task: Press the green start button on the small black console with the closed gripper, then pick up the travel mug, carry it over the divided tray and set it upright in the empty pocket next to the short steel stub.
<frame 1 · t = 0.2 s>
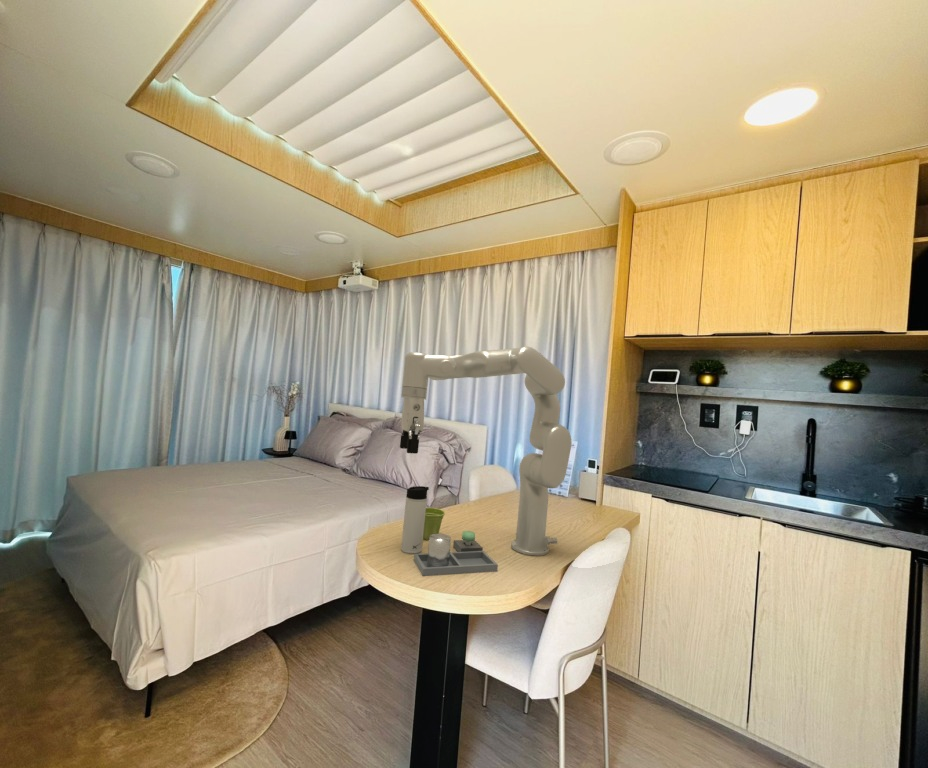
hand: (408, 450, 119), 31 cm above the table, fingers open, 9 cm apart
button: (468, 540, 124), point 4 cm above the table, slide at 0.0 cm
plant pot: (428, 537, 136), on the table
divided tray: (454, 568, 112), on the table
travel mug: (411, 553, 120), on the table
steel stub: (437, 566, 110), point 1 cm above the table, touching divided tray
console: (467, 553, 124), on the table
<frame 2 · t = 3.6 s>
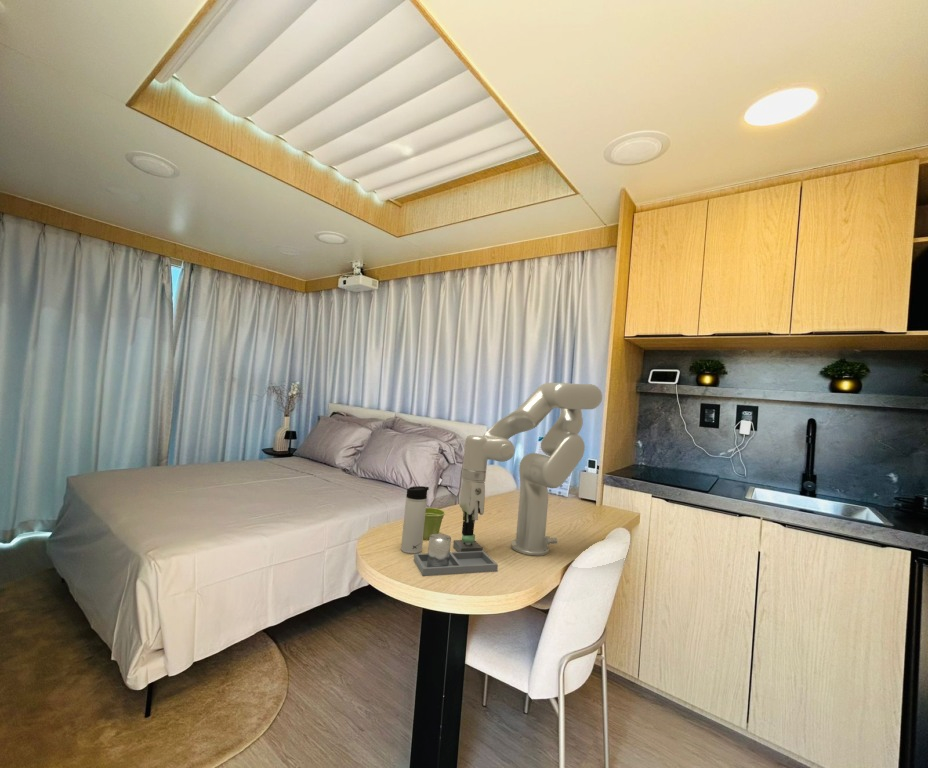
hand: (467, 534, 124), 6 cm above the table, fingers closed
button: (468, 542, 124), point 3 cm above the table, slide at 0.5 cm, touching gripper
everything else where it was.
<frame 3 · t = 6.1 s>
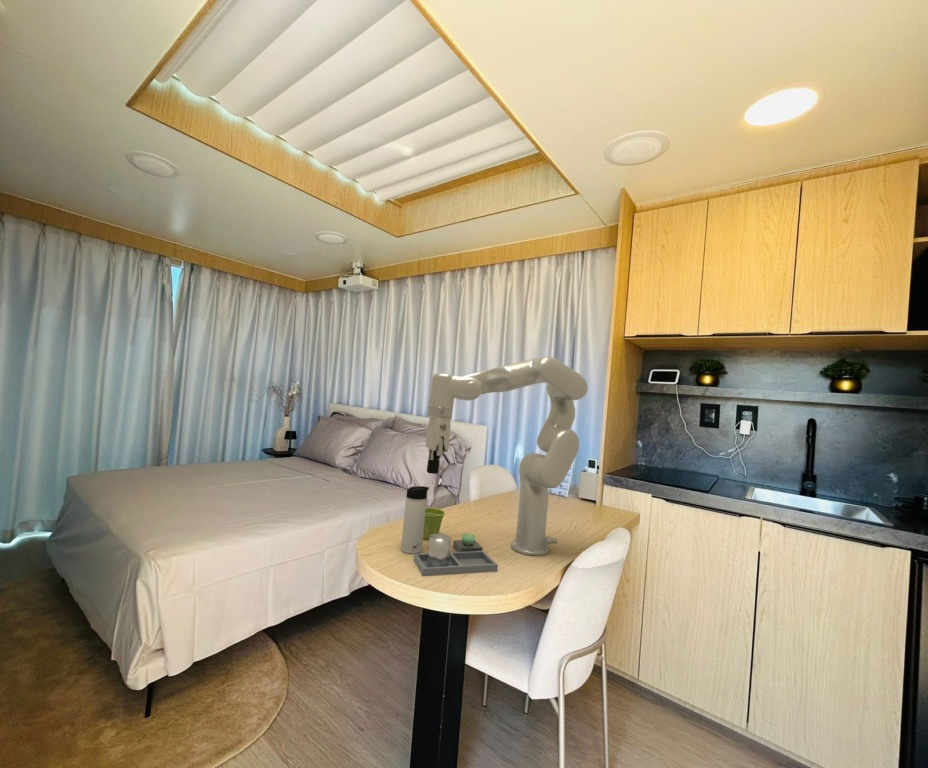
hand: (432, 472, 122), 24 cm above the table, fingers closed
button: (467, 543, 124), point 3 cm above the table, slide at 0.9 cm
everything else where it was.
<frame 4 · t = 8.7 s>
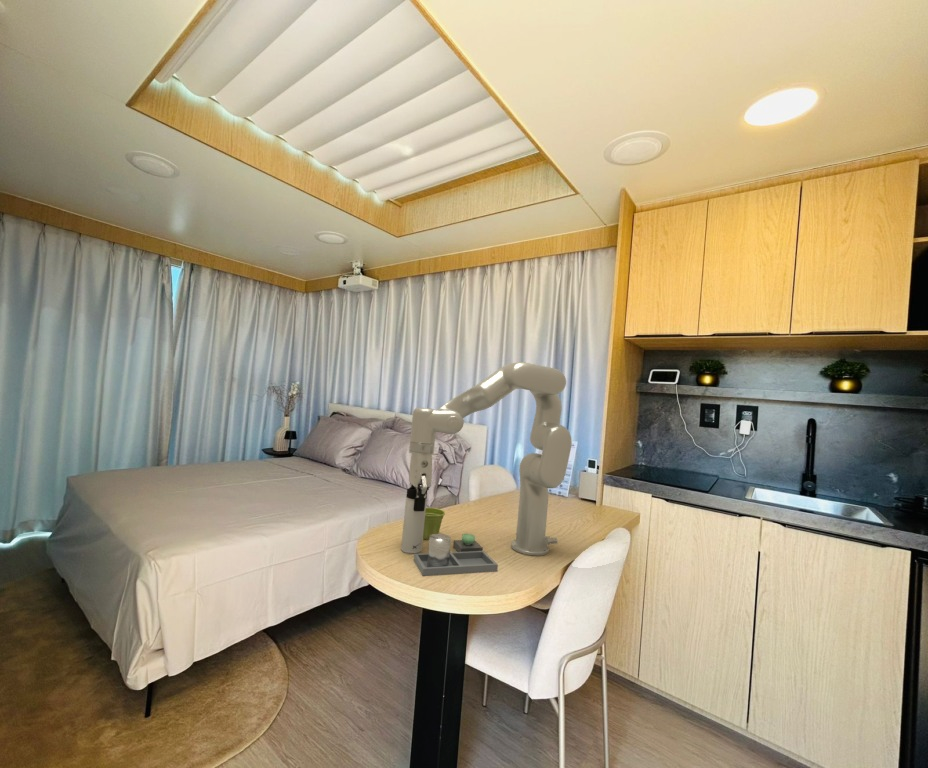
hand: (416, 507, 121), 14 cm above the table, fingers closed on travel mug, 6 cm apart
travel mug: (411, 553, 120), on the table, touching gripper
everything else where it was.
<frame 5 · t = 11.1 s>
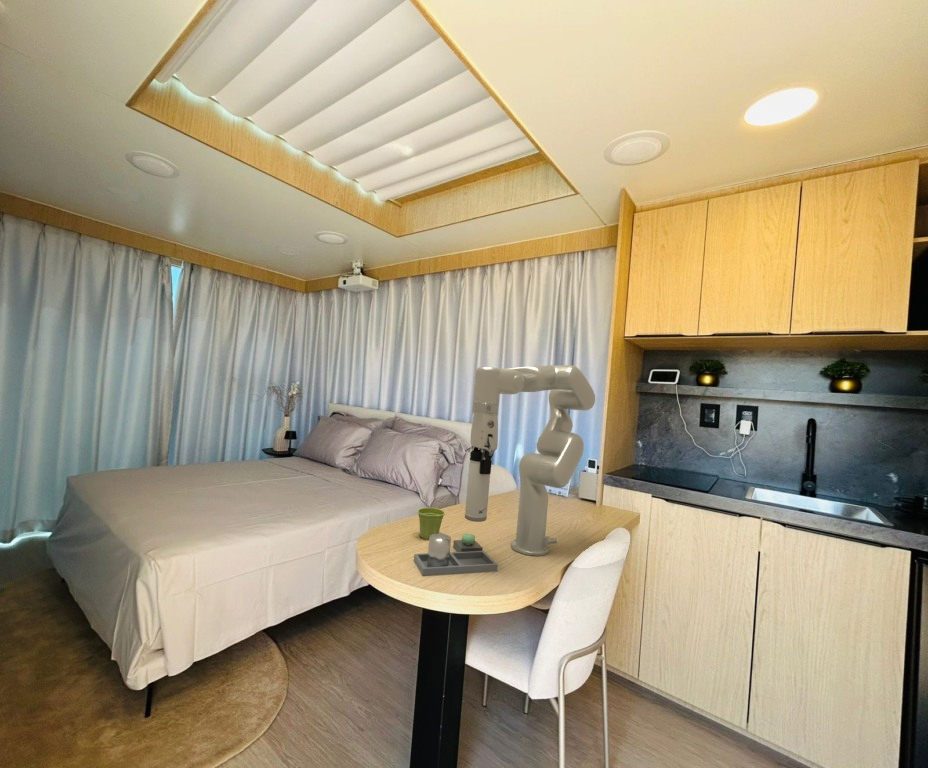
hand: (480, 471, 115), 27 cm above the table, fingers closed on travel mug, 6 cm apart
travel mug: (476, 519, 115), point 13 cm above the table, touching gripper
everything else where it was.
when the fingers open (15 cm above the table, at t = 13.8 s): travel mug moves 1 cm, resting on divided tray.
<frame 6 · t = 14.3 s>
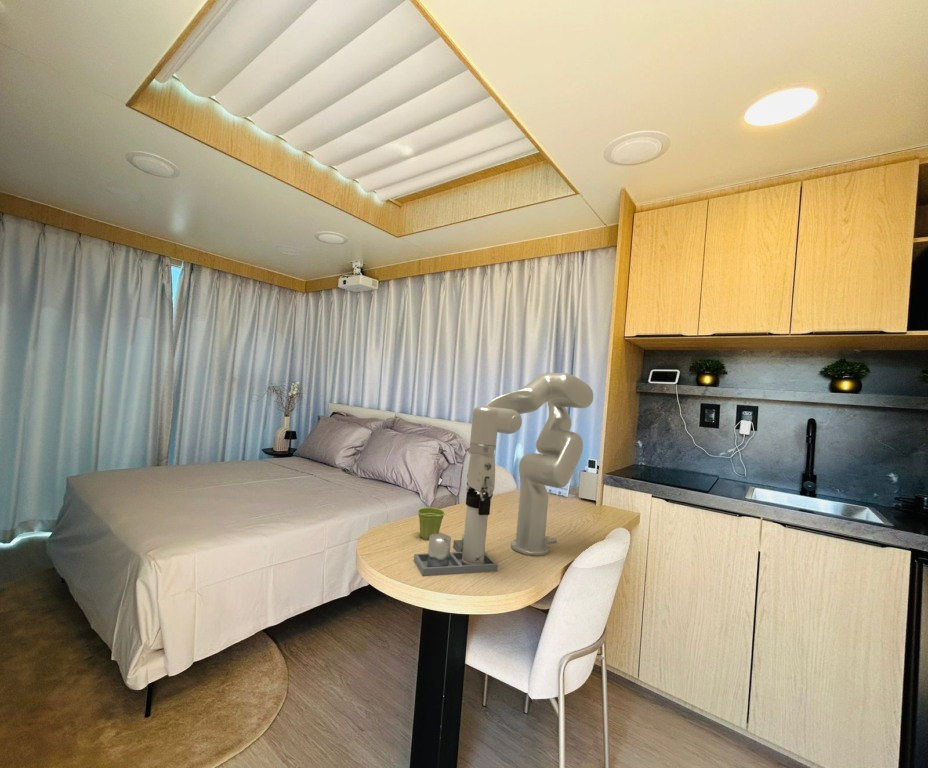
hand: (477, 509, 115), 16 cm above the table, fingers open, 9 cm apart
travel mug: (472, 565, 114), point 1 cm above the table, touching divided tray
everything else where it was.
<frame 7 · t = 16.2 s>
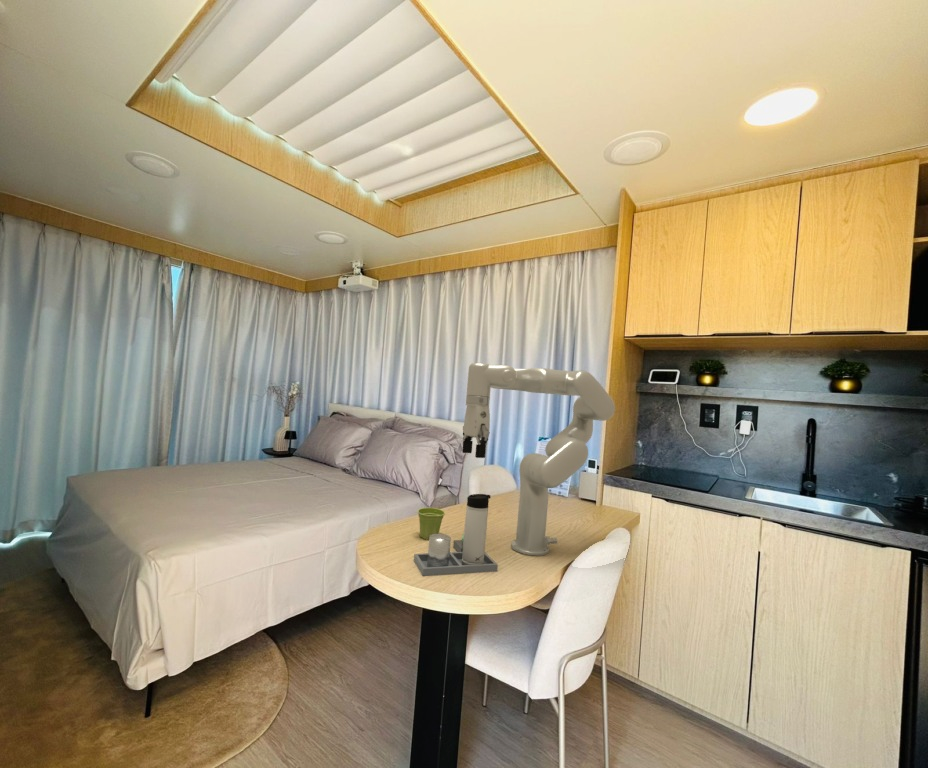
hand: (473, 455, 127), 30 cm above the table, fingers open, 9 cm apart
nothing on the table moved.
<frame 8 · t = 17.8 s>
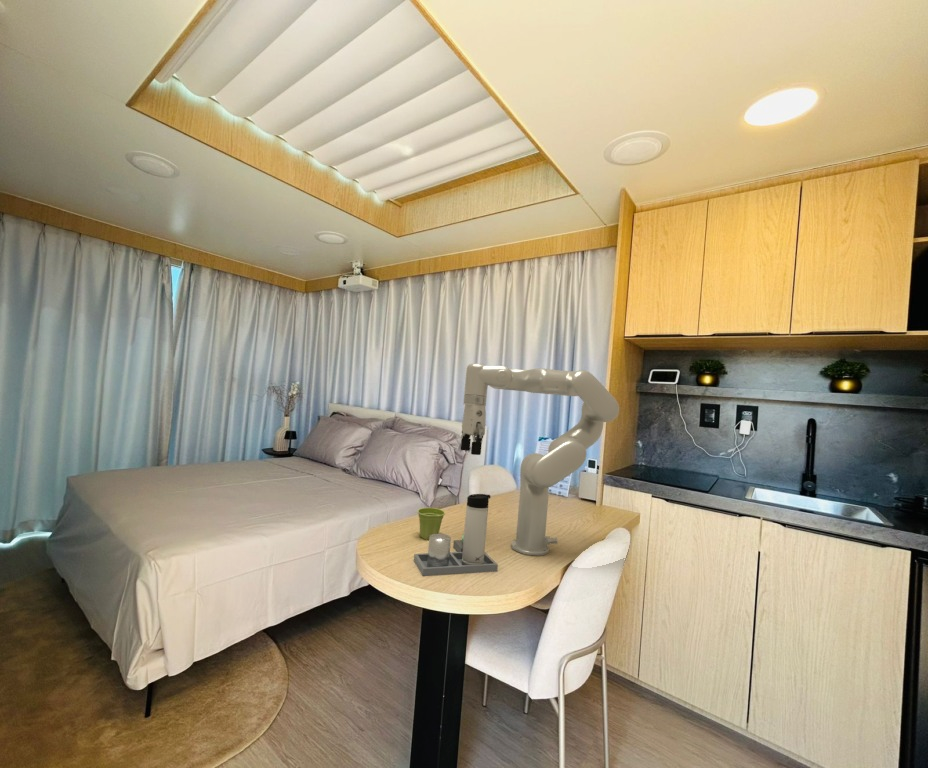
hand: (470, 452, 133), 30 cm above the table, fingers open, 9 cm apart
nothing on the table moved.
at the end: travel mug 0.2 cm from the target spot on the divided tray, point 0.6 cm above the divided tray's base; travel mug tilted 0°; button slide at 0.9 cm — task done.
